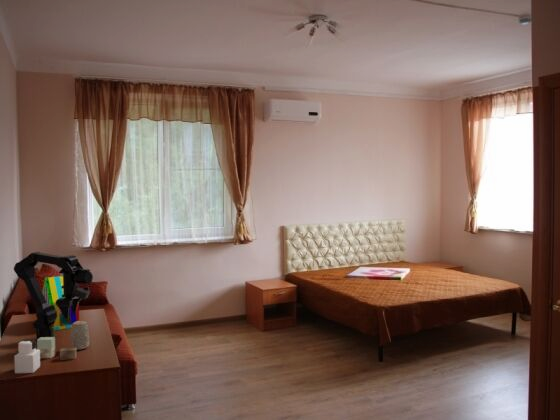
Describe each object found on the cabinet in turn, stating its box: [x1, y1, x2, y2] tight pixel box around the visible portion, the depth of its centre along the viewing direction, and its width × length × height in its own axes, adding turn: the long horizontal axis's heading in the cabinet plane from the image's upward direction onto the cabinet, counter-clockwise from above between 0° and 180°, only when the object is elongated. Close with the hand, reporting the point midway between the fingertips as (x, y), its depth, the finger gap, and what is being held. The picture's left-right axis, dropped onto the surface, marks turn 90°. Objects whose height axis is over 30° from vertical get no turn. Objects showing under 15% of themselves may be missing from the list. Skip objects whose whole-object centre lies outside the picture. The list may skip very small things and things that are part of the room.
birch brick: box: [36, 346, 56, 359], centre depth 214 cm, size 6×4×4 cm, turn 91°
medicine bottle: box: [13, 338, 41, 374], centre depth 199 cm, size 7×7×12 cm
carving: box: [70, 320, 90, 351], centre depth 224 cm, size 6×8×12 cm
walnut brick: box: [59, 347, 78, 361], centre depth 213 cm, size 6×4×4 cm, turn 104°
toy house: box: [42, 275, 80, 332], centre depth 263 cm, size 24×14×25 cm, turn 34°
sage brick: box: [36, 336, 56, 350], centre depth 214 cm, size 6×4×4 cm, turn 92°
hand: (70, 316), depth 234 cm, fingers open, 9 cm apart
